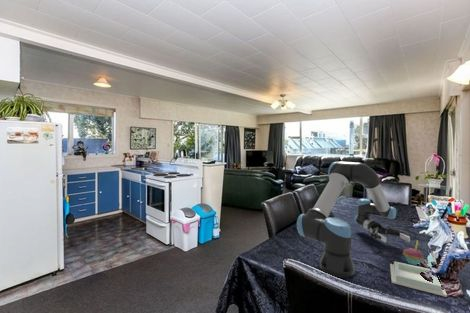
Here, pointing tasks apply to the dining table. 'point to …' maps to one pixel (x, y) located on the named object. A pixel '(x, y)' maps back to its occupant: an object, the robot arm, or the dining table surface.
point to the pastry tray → (414, 278)
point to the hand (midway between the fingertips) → (397, 239)
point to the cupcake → (413, 255)
